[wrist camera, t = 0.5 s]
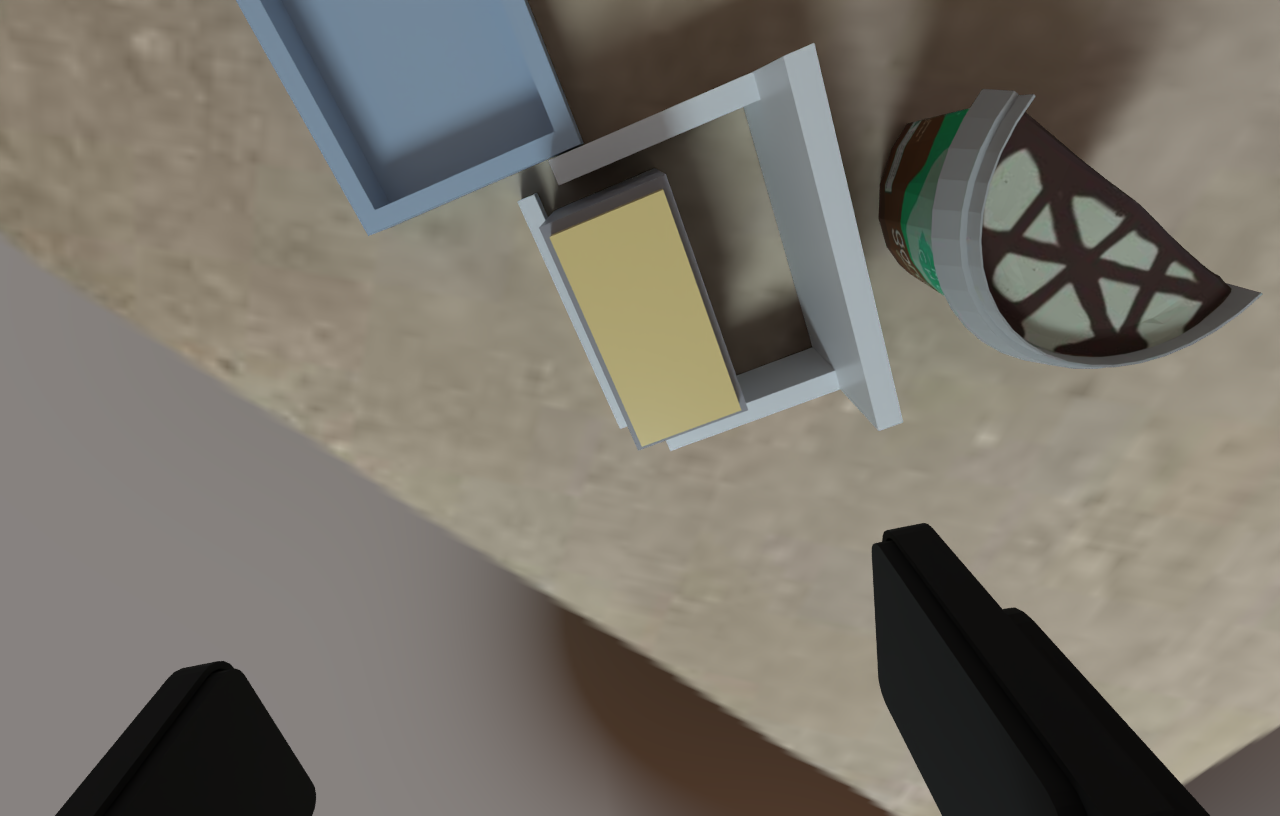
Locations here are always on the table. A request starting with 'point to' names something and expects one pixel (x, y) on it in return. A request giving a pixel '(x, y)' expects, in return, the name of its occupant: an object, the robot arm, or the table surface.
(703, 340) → the yellow-topped block
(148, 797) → the robot arm
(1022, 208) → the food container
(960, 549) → the table surface
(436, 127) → the tray
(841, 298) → the bay
